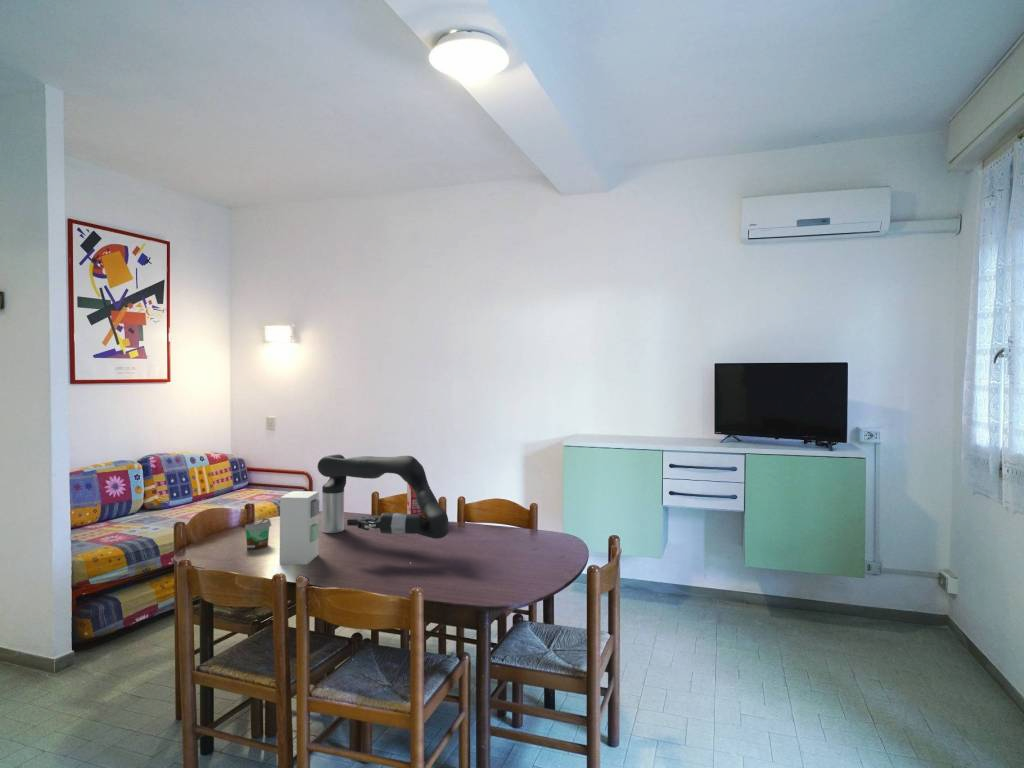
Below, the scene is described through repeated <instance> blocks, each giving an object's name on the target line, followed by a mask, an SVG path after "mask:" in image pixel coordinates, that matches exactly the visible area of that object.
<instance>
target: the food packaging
mask: <svg viewBox="0 0 1024 768" xmlns="http://www.w3.org/2000/svg"><path fill="white" fill-rule="evenodd" d="M406 484H407V486H406V487H407V488H406V489H407V490H406V497H407V498H406V514H419V515H421V516H422V517H423V513H422V511H421V509H420V507H419V505H418V503H417V499H416V493H415V491H414V490H413V488H412V487H411V486H410V485H409V484H408V483H407V482H406Z"/></svg>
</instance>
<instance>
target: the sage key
mask: <svg viewBox="0 0 1024 768" xmlns="http://www.w3.org/2000/svg"><path fill="white" fill-rule="evenodd" d="M319 537H320V524H319V523H318V524H313V525H312V526H310V541H315V540H317V539H318V540H319Z"/></svg>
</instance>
